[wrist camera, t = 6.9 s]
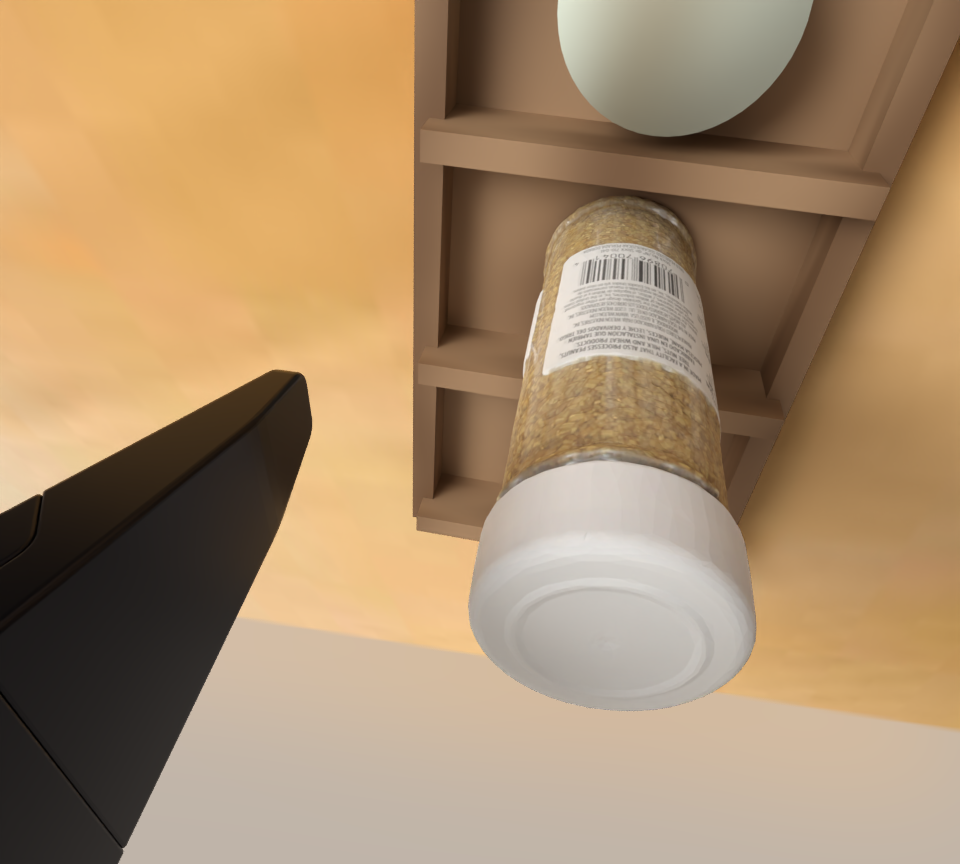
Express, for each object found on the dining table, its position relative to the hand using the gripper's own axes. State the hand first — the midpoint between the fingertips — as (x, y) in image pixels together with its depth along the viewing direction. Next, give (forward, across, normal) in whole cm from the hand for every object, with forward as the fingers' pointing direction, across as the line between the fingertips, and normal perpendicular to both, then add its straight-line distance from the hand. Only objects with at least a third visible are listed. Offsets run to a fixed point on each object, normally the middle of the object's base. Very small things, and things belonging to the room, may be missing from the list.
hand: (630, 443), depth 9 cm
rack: (+13, 0, +4) cm, 14 cm away
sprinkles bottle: (+13, 0, +4) cm, 13 cm away
